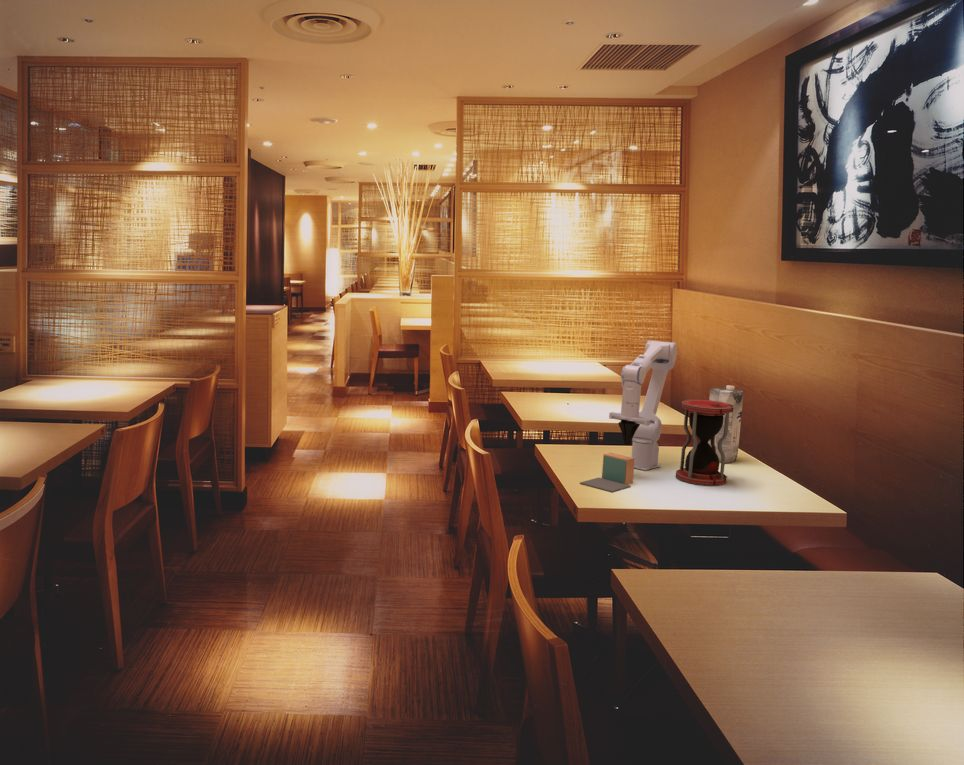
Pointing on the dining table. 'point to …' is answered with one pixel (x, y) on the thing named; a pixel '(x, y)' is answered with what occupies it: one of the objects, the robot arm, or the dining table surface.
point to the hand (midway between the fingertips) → (627, 444)
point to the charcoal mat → (605, 484)
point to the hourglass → (704, 442)
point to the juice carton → (734, 423)
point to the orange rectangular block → (618, 468)
